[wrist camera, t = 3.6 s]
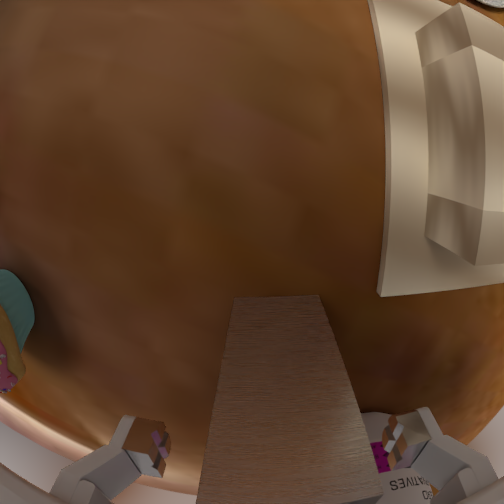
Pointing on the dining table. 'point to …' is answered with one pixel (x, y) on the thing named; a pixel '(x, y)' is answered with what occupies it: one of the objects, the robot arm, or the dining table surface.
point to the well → (441, 146)
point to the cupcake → (13, 328)
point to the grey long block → (285, 413)
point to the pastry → (493, 3)
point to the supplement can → (398, 481)
